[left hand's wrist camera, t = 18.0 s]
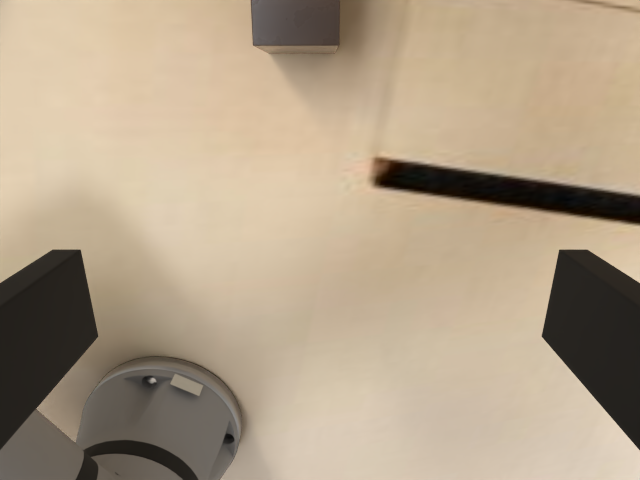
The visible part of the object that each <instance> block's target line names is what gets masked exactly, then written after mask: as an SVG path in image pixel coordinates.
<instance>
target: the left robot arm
mask: <svg viewBox="0 0 640 480" xmlns="http://www.w3.org/2000/svg"><path fill="white" fill-rule="evenodd" d="M97 337H98V333H97V328H96V323H95V318H94V313H93V308H92V303H91V299H90V294H89V289H88V284H87V279H86V274H85V269H84V264H83V259H82V254H81V250H52V251H50V252H48V253H47V254H45V255H44V256H42V257H41V258H39V259H37V260H36V261H34V262H33V263H31V264H30V265H28V266H26V267H25V268H23V269H22V270H20V271H19V272H17V273H15V274H14V275H12V276H11V277H9V278H8V279H6V280H5V281H3V282H1V283H0V480H220V478H221V477H222V475H223V474H224V473H225V471H226V470H227V468H228V467H229V465H230V464H231V463H232V461H233V459H234V457H235V455H236V452H237V449H238V444H239V440H240V436H241V430H242V417H241V412H240V408H239V406H238V403H237V401H236V399H235V397H234V396H233V394H232V393H231V391H230V390H229V389H228V387H227V386H226V385H225V384H224V383H223V382H222V381H221V380H220V379H218V378H217V377H216V376H215V375H213V374H212V373H210V372H209V371H207V370H206V369H204V368H202V367H200V366H198V365H196V364H193V363H190V362H188V361H184V360H181V359H176V358H170V357H145V358H139V359H135V360H132V361H128V362H126V363H124V364H121V365H119V366H118V367H116V368H114V369H113V370H111V371H110V372H109V373H108V374H107V375H105V376H104V378H103V379H102V380H101V381H100V382H99V384H98V385H97V386H96V388H95V389H94V391H93V392H92V393H91V395H90V396H89V398H88V399H87V401H86V403H85V406H84V409H83V413H82V418H81V422H80V427H79V431H78V435H77V439H76V443H75V442H74V441H72V440H71V439H70V438H69V437H68V436H67V435H65V434H64V433H63V432H62V431H61V430H60V429H58V428H57V427H56V426H55V425H54V424H53V423H51V422H50V421H49V420H48V419H47V418H46V417H44V416H43V415H42V414H41V413H40V412H39V411H38V410H37V409H36V408H37V407H38V406H39V405H40V403H41V402H42V401H43V400H44V399H45V398H46V396H47V395H48V394H49V393H50V392H51V391H52V390H53V388H54V387H55V386H56V385H57V384H58V383H59V381H60V380H61V379H62V378H63V377H64V376H65V374H66V373H67V372H68V371H69V370H70V369H71V367H72V366H73V365H74V364H75V363H76V362H77V361H78V359H79V358H80V357H81V356H82V355H83V354H84V352H85V351H86V350H87V349H88V348H89V347H90V345H91V344H92V343H93V342H94V341H95V340H96V338H97ZM542 337H543V338H544V340H545V341H546V342H547V343H548V344H549V345H550V347H551V348H552V349H553V350H554V351H555V352H556V354H557V355H558V356H559V357H560V358H561V359H562V361H563V362H564V363H565V364H566V365H567V366H568V367H569V369H570V370H571V371H572V372H573V373H574V374H575V376H576V377H577V378H578V379H579V380H580V381H581V383H582V384H583V385H584V386H585V387H586V388H587V390H588V391H589V392H590V393H591V394H592V395H593V396H594V398H595V399H596V400H597V401H598V402H599V403H600V405H601V406H602V407H603V408H604V409H605V410H606V412H607V413H608V414H609V415H610V416H611V417H612V419H613V420H614V421H615V422H616V423H617V424H618V425H619V427H620V428H621V429H622V430H623V431H624V432H625V434H626V435H627V436H628V437H629V438H630V439H631V441H632V442H633V443H634V444H635V445H636V446H637V448H638V449H639V450H640V283H639V282H637V281H635V280H634V279H632V278H631V277H629V276H628V275H626V274H625V273H623V272H621V271H620V270H618V269H617V268H615V267H614V266H612V265H610V264H609V263H607V262H606V261H604V260H603V259H601V258H599V257H598V256H596V255H595V254H593V253H592V252H590V251H588V250H559V254H558V259H557V264H556V269H555V274H554V279H553V284H552V289H551V294H550V299H549V303H548V308H547V313H546V318H545V323H544V328H543V333H542Z"/></svg>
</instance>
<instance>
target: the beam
mask: <svg viewBox="0 0 640 480" xmlns="http://www.w3.org/2000/svg"><path fill="white" fill-rule="evenodd" d="M251 13H252V34H253V46H255V47H257V48H259V49H261V50H263V51H265V52H267V53H269V54H334V53H335V52H336V50H337V48H338V46H339V30H340V0H251Z"/></svg>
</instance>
